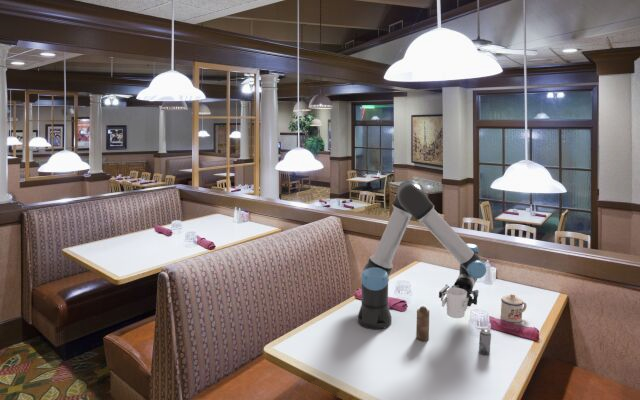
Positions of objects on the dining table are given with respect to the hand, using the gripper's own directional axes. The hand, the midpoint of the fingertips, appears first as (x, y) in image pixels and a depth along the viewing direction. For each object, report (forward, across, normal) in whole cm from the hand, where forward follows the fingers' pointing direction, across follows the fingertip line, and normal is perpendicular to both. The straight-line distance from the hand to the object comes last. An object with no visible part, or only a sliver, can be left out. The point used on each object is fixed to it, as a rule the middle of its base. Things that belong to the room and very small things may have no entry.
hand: (453, 305), depth 163 cm
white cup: (-5, 0, -6) cm, 8 cm away
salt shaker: (-1, -12, -17) cm, 21 cm away
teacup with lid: (-37, -20, -17) cm, 45 cm away
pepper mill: (-1, +12, -18) cm, 21 cm away
